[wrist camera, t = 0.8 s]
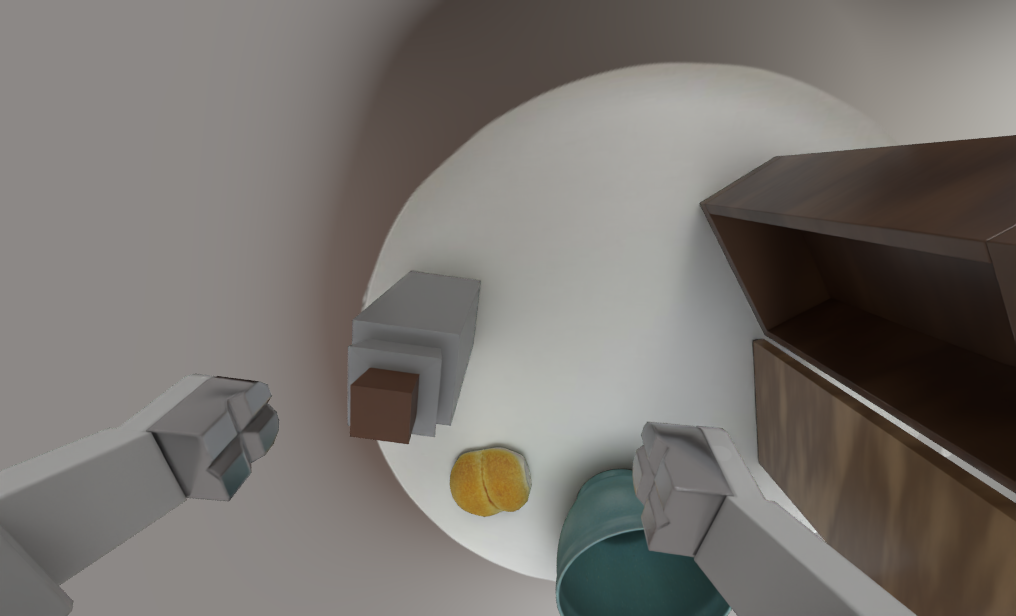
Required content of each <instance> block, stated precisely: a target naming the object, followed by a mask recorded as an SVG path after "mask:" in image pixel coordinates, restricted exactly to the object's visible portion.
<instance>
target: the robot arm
mask: <svg viewBox="0 0 1016 616" xmlns="http://www.w3.org/2000/svg"><path fill="white" fill-rule="evenodd" d="M271 397H272V395H271V392H270V390H269V387H268V384H265V383H263V382H259V381H251V380H244V379H236V378H228V377H221V376H217V377H215V376H208V375H201V374H192V375H189V376H186V377H184V378H182V379H181V380H180V381H179V382H177V383H176V384H175V385H173V386H172V387H171V388H169V389H168V390H167V391H165V392H164V393H163V394H162V395H160V396H159V397H158V398H156V399H155V400H154V401H152V402H151V403H150V404H148V405H147V406H146V407H144V408H143V409H142V410H141V411H139V412H138V413H137V414H135V415H134V416H133V417H131V418H130V419H129V420H127V421H126V422H125V423H123V424H122V425H121V426H120V427H118V428H108V429H105V430H102V431H100V432H97V433H95V434H92V435H90V436H87V437H85V438H82V439H80V440H77V441H75V442H72V443H69V444H67V445H65V446H62V447H59V448H57V449H54V450H52V451H49V452H47V453H44V454H42V455H39V456H36V457H34V458H32V459H29V460H26V461H24V462H21V463H19V464H16V465H14V466H11V467H9V468H6V469H4V470H1V471H0V616H67V615H68V614H69V613H70V612H71V611H72V608H73V600H72V599H71V598H70V597H69V596H68V595H67V594H66V593H65V592H64V591H63V590H62V589H61V588H60V587H59V585H61V584H62V583H64V582H65V581H67V580H68V579H70V578H71V577H73V576H74V575H76V574H77V573H79V572H80V571H82V570H83V569H84V568H86V567H88V566H89V565H91V564H92V563H94V562H95V561H97V560H98V559H100V558H101V557H103V556H104V555H106V554H107V553H109V552H110V551H112V550H113V549H115V548H116V547H117V546H119V545H121V544H122V543H124V542H125V541H127V540H128V539H130V538H131V537H133V536H134V535H136V534H137V533H139V532H140V531H142V530H143V529H144V528H146V527H147V526H149V525H150V524H152V523H153V522H155V521H156V520H158V519H160V518H161V517H163V516H164V515H165V514H167V513H168V512H170V511H171V510H173V509H174V508H176V507H177V506H179V505H180V504H182V503H183V502H185V501H186V500H187V499H186V498H196V499H207V500H219V501H230V499H231V498H232V497H233V495H234V494H235V493H236V492H237V490H238V489H239V488H240V487H241V485H242V484H243V483H244V481H245V480H246V479H247V478H248V476H249V475H250V474H251V463H252V462H254V461H256V460H257V459H259V458H261V457H263V456H265V455H266V453H267V452H268V451H269V449H270V448H271V447H272V445H273V444H274V441H275V439H276V436H277V434H278V431H279V419H278V415H277V412H276V411H275V410H274V409H273V408H272V407H271V406H270V405H269V404H268V401H269V400H270V398H271ZM641 437H642V440H643V444H644V445H643V446H641V447H640V448H638V449H637V450H636V452H635V456H634V460H633V471H632V477H633V486H634V490H635V495H636V497H637V498H638V499H639V500H640V501H641V503H642V504H643V505H644V509H643V512H642V515H641V520H642V524H643V528H644V533H645V537H646V541H647V545H648V549H649V551H655V552H662V553H669V554H676V555H683V556H690V557H695V558H694V561H695V562H696V563H697V564H698V566H699V567H700V568H701V570H702V571H703V572H704V573H705V575H706V576H707V577H708V579H709V580H710V581H711V582H712V584H713V585H714V586H715V588H716V589H717V590H718V591H719V593H720V594H721V595H722V597H723V598H724V599H725V600H726V602H727V603H728V604H729V606H730V607H731V608H732V609H733V611H734V612H735V613H736V615H737V616H917V615H916V614H914V613H913V612H912V611H911V610H909V609H908V608H907V607H906V606H904V605H903V604H902V603H901V602H899V601H898V600H897V599H896V598H894V597H893V596H892V595H891V594H889V593H888V592H887V591H886V590H884V589H883V588H882V587H881V586H880V585H878V584H877V583H876V582H875V581H873V580H872V579H871V578H870V577H868V576H867V575H866V574H865V573H863V572H862V571H861V570H860V569H858V568H857V567H856V566H855V565H853V564H852V563H851V562H850V561H848V560H847V559H846V558H845V557H843V556H842V555H841V554H840V553H838V552H837V551H836V550H835V549H833V548H832V547H831V546H830V545H828V544H827V543H826V542H825V541H823V540H822V539H821V538H820V537H818V536H817V535H816V534H815V533H813V532H812V531H811V530H810V529H808V528H807V527H806V526H805V525H803V524H802V523H801V522H800V521H798V520H797V519H796V518H795V517H793V516H792V515H791V514H790V513H788V512H787V511H786V510H785V509H783V508H782V507H781V506H780V505H778V504H777V503H776V502H775V501H769V500H766V499H765V498H764V496H763V494H762V492H761V490H760V489H759V487H758V485H757V483H756V482H755V480H754V478H753V476H752V475H751V473H750V471H749V469H748V468H747V466H746V464H745V462H744V460H743V459H742V457H741V455H740V453H739V452H738V450H737V448H736V446H735V445H734V443H733V441H732V439H731V438H730V436H729V434H728V433H727V432H726V431H725V430H724V429H723V428H713V427H702V426H696V427H695V426H689V425H678V424H668V423H657V422H647V423H646V424H645V425H644V427H643V430H642V433H641Z"/></svg>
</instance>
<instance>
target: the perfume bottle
mask: <svg viewBox="0 0 1016 616" xmlns="http://www.w3.org/2000/svg"><path fill="white" fill-rule="evenodd" d="M480 284H481V281H479V280H472V279H465V278H458V277H451V276H444V275H437V274H429V273H422V272H415V271H410V272H409V273H408V274H406V275H405V276H404V277H403V278H402V279H400V280H399V281H398V282H397V283H396V284H395V285H393V286H392V287H391V288H390V289H389V290H387V291H386V292H385V293H384V294H383V295H381V296H380V297H379V298H378V299H377V300H376V301H374V302H373V303H372V304H371V305H370V306H368V307H367V308H366V309H365V310H364V311H363V312H361V313H360V314H359V315H358V316H357V317H355V318H354V319H353V330H352V331H353V332H352V334H353V335H352V336H353V337H352V345H350V346H348V426H350V436H351V437H358V438H365V439H373V440H380V441H388V442H396V443H403V444H409V441H410V437H411V434H415V435H422V436H430V437H435V430H436V424H442V425H449V426H451V423H452V420H453V416H454V412H455V409H456V405H457V401H458V398H459V394H460V391H461V387H462V383H463V380H464V376H465V373H466V369H467V365H468V362H469V358H470V355H471V351H472V347H473V342H474V334H475V326H476V317H477V309H478V300H479V292H480Z"/></svg>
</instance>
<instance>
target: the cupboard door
mask: <svg viewBox="0 0 1016 616" xmlns="http://www.w3.org/2000/svg"><path fill="white" fill-rule="evenodd" d="M753 347H754V369H755V390H756V411H757V433H758V454H759V464H760V465H761V466H762V467H763V468H764V469H765V471H766V472H767V473H768V474H769V475H770V477H771V478H772V479H773V480H774V481H775V482H776V484H777V485H778V486H779V487H780V488H781V490H782V491H783V492H784V493H785V494H786V495H787V497H788V498H789V499H790V500H791V501H792V503H793V504H794V505H795V506H796V507H797V508H798V510H799V511H800V512H801V513H802V514H803V516H804V517H805V518H806V519H807V520H808V521H809V523H810V524H811V525H812V526H813V527H814V529H815V530H816V531H817V532H818V533H819V534H820V536H821V537H822V538H823V539H824V540H825V542H826V543H827V544H828V545H830V546H831V547H832V548H833V549H835V550H836V551H837V552H838V553H840V554H841V555H842V556H843V557H845V558H846V559H847V560H848V561H850V562H851V563H852V564H853V565H855V566H856V567H857V568H858V569H860V570H861V571H862V572H863V573H865V574H866V575H867V576H868V577H870V578H871V579H872V580H873V581H875V582H876V583H877V584H878V585H880V586H881V587H882V588H883V589H884V590H886V591H887V592H888V593H889V594H891V595H892V596H893V597H894V598H896V599H897V600H898V601H899V602H901V603H902V604H903V605H904V606H906V607H907V608H908V609H909V610H911V611H912V612H913V613H914V614H916V615H917V616H1016V503H1014V502H1013V501H1012V500H1010V499H1008V498H1007V497H1005V496H1004V495H1002V494H1001V493H999V492H998V491H996V490H995V489H993V488H991V487H990V486H989V485H987V484H985V483H984V482H982V481H981V480H979V479H978V478H976V477H975V476H973V475H972V474H970V473H969V472H967V471H965V470H964V469H962V468H961V467H959V466H958V465H956V464H955V463H953V462H952V461H950V460H948V459H947V458H946V457H944V456H942V455H941V454H939V453H938V452H936V451H935V450H933V449H932V448H930V447H929V446H927V445H926V444H924V443H923V442H921V441H919V440H918V439H916V438H915V437H913V436H912V435H910V434H909V433H907V432H906V431H904V430H903V429H901V428H900V427H898V426H896V425H895V424H893V423H892V422H890V421H889V420H887V419H886V418H884V417H883V416H881V415H880V414H878V413H877V412H875V411H873V410H872V409H870V408H869V407H867V406H866V405H864V404H863V403H861V402H860V401H858V400H857V399H855V398H854V397H852V396H850V395H849V394H847V393H846V392H844V391H843V390H841V389H840V388H838V387H837V386H835V385H834V384H832V383H831V382H829V381H827V380H826V379H824V378H823V377H821V376H820V375H818V374H817V373H815V372H814V371H812V370H811V369H809V368H808V367H806V366H804V365H803V364H801V363H800V362H798V361H797V360H795V359H794V358H792V357H791V356H789V355H788V354H786V353H785V352H783V351H781V350H780V349H778V348H777V347H775V346H774V345H772V344H771V343H769V342H768V341H766V340H765V339H759V340H754V341H753Z"/></svg>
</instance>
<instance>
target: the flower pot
mask: <svg viewBox="0 0 1016 616" xmlns="http://www.w3.org/2000/svg"><path fill="white" fill-rule="evenodd" d="M632 471H633V470H627V469H614V470H609V471H605V472H602V473H599V474H597V475H596V476H594V477H592V478H591V479H589V480H588V481H587V482H586V483H585V484H584V485H583V487H582V488H581V489H580V491H579V493H578V496H577V500H576V502H575V503H574V505H573V506H572V508H571V509H570V511H569V513H568V515H567V517H566V519H565V522H564V524H563V528H562V531H561V534H560V539H559V544H558V552H557V579H556V603H557V608H558V610H559V613H560V615H561V616H728V614H729V613H730V611H731V610H732V608H731V607H730V606H729V604H728V603H727V602H726V600H725V599H724V598H723V597H722V595H721V594H720V593H719V591H718V590H717V589H716V588H715V586H714V585H713V584H712V582H711V581H710V580H709V579H708V577H707V576H706V575H705V573H704V572H703V571H702V570H701V568H700V567H699V566H698V564H697V563H696V562H695V561H694V558H695V557H690V556H683V555H676V554H669V553H662V552H655V551H649V549H648V545H647V541H646V537H645V533H644V528H643V524H642V520H641V515H642V512H643V509H644V505H643V504H642V503H641V501H640V500H639V499H638V498H637V497H636V495H635V490H634V486H633V477H632Z"/></svg>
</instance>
